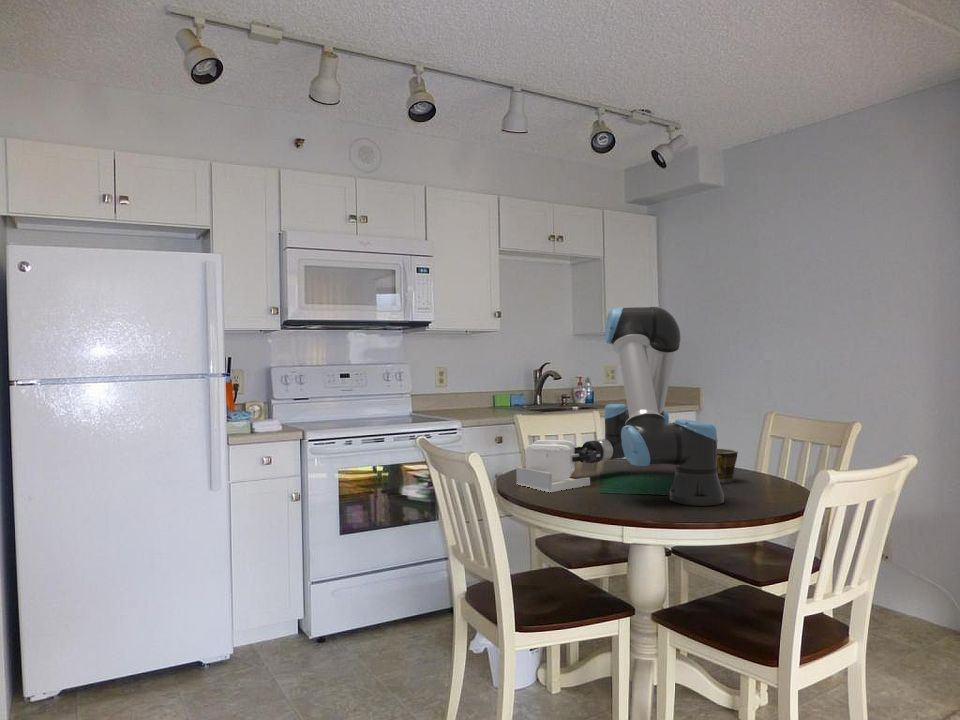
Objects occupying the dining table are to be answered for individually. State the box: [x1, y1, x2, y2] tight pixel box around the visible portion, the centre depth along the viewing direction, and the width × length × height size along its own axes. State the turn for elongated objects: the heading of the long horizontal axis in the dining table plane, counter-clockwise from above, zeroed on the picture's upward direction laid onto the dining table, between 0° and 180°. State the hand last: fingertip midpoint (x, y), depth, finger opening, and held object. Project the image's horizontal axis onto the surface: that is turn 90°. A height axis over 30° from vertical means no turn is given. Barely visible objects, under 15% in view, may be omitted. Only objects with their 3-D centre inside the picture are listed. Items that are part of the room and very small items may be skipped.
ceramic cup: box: [717, 448, 738, 484], centre depth 229 cm, size 13×10×10 cm
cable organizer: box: [524, 439, 576, 481], centre depth 227 cm, size 15×11×12 cm
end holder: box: [515, 466, 591, 493], centre depth 227 cm, size 16×18×6 cm
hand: (550, 457), depth 227 cm, fingers closed on cable organizer, 12 cm apart
